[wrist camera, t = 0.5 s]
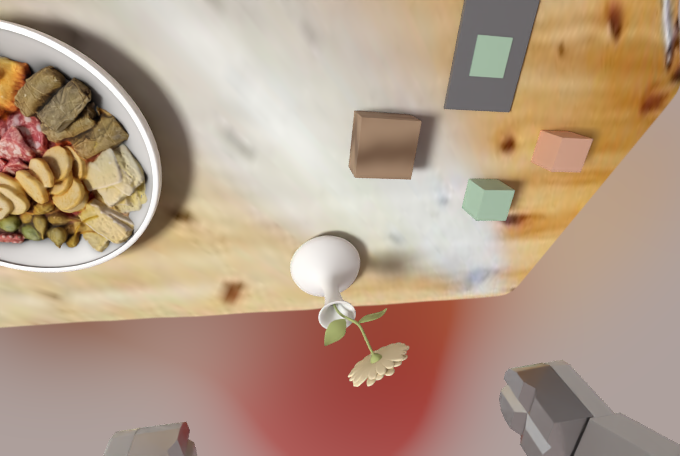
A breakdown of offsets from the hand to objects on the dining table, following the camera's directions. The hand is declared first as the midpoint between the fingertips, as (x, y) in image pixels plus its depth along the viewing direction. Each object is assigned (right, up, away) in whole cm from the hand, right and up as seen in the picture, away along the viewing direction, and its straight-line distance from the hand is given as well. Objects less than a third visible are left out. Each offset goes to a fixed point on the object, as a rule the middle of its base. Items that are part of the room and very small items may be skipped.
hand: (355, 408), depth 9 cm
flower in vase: (-2, -1, +52) cm, 52 cm away
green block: (+22, +10, +51) cm, 56 cm away
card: (+20, +28, +41) cm, 53 cm away
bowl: (-38, +14, +38) cm, 56 cm away
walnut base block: (+5, +17, +44) cm, 48 cm away
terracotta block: (+33, +17, +49) cm, 61 cm away
